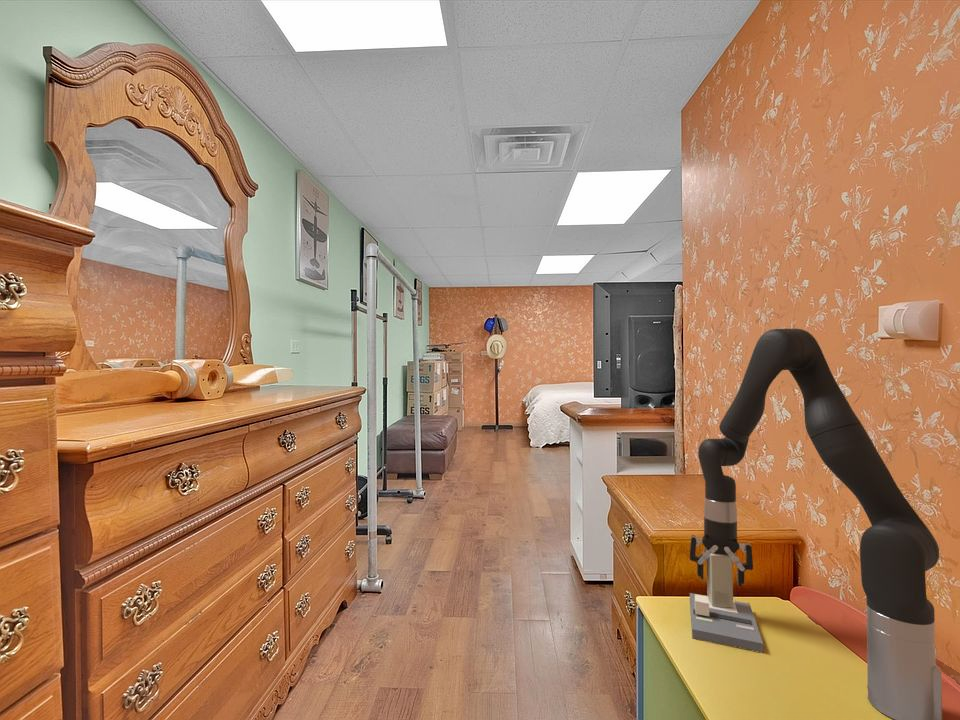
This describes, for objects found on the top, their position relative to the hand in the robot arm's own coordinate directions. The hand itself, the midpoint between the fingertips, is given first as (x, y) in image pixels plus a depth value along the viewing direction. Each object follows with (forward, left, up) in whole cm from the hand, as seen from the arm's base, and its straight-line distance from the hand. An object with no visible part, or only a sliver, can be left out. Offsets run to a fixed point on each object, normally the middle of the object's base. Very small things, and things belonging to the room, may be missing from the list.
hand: (720, 581), depth 119 cm
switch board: (0, +6, -8) cm, 10 cm away
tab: (+5, +7, -5) cm, 10 cm away
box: (0, 0, -6) cm, 6 cm away
